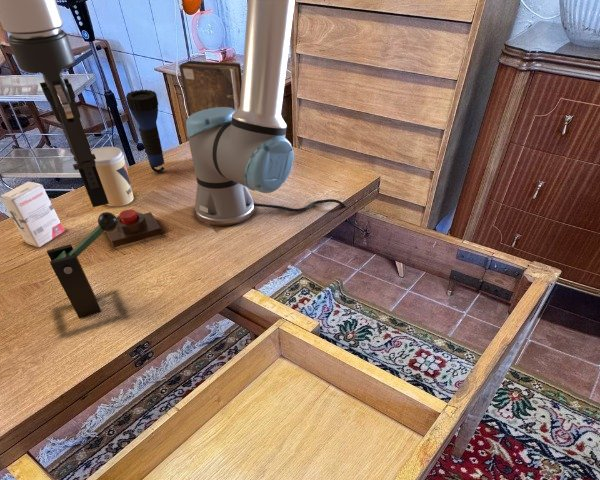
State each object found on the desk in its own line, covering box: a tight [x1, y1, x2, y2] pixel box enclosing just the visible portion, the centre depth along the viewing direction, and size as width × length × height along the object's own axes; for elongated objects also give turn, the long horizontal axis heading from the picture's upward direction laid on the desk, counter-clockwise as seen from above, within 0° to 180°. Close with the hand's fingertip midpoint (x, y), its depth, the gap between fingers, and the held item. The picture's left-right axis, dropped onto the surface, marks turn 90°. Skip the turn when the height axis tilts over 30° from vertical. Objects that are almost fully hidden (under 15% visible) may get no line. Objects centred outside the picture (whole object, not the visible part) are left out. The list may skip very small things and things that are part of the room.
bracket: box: [46, 243, 102, 319], centre depth 85 cm, size 12×9×14 cm
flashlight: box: [125, 89, 165, 174], centre depth 124 cm, size 8×8×20 cm
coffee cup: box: [91, 146, 134, 207], centre depth 117 cm, size 9×9×12 cm
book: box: [178, 60, 243, 117], centre depth 126 cm, size 17×7×25 cm, turn 65°
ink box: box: [0, 181, 65, 248], centre depth 105 cm, size 9×5×12 cm, turn 152°
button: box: [118, 209, 138, 224], centre depth 106 cm, size 4×4×2 cm
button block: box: [106, 211, 163, 248], centre depth 108 cm, size 12×9×4 cm
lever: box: [54, 211, 118, 260], centre depth 81 cm, size 14×3×3 cm, turn 118°
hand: (100, 203), depth 77 cm, fingers closed
